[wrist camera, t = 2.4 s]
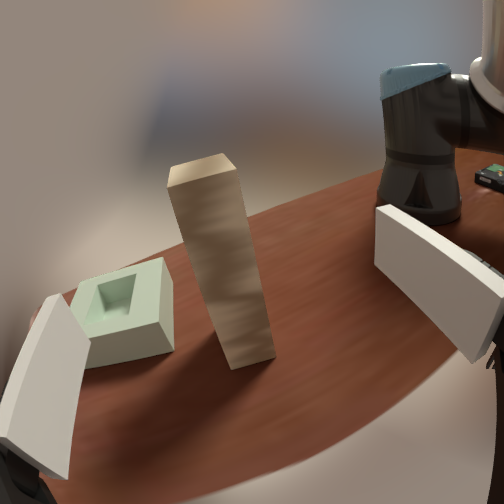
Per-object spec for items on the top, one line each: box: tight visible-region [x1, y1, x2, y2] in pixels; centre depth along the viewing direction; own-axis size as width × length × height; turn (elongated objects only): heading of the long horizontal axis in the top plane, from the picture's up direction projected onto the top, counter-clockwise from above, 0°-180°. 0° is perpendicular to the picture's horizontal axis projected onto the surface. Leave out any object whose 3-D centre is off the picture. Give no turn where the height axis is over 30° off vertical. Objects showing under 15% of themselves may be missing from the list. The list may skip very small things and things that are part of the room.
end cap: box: [69, 257, 174, 369], centre depth 30 cm, size 12×12×4 cm
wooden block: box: [167, 153, 276, 370], centre depth 22 cm, size 4×6×16 cm, turn 13°
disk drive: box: [475, 164, 504, 193], centre depth 45 cm, size 10×3×15 cm
